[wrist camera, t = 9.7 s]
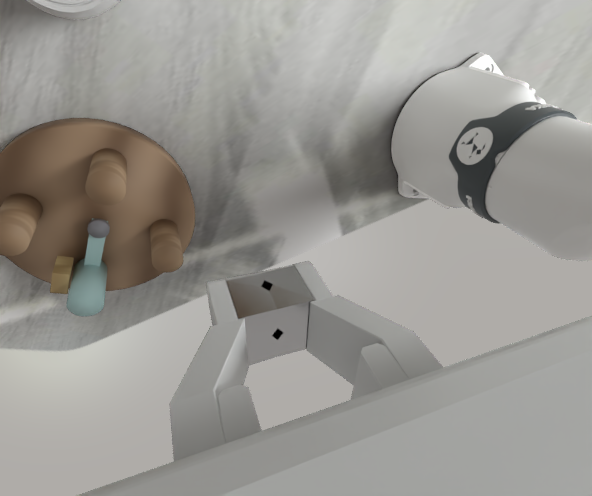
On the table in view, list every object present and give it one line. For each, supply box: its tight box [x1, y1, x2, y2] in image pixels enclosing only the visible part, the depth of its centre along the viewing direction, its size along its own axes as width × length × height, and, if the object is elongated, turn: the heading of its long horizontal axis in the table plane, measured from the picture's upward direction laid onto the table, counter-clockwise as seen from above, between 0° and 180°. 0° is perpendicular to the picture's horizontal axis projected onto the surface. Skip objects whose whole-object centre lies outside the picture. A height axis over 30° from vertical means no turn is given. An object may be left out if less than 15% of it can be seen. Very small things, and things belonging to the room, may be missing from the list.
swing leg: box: [67, 218, 110, 316], centre depth 33 cm, size 8×3×5 cm, turn 155°
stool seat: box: [0, 118, 195, 294], centre depth 33 cm, size 18×18×8 cm
